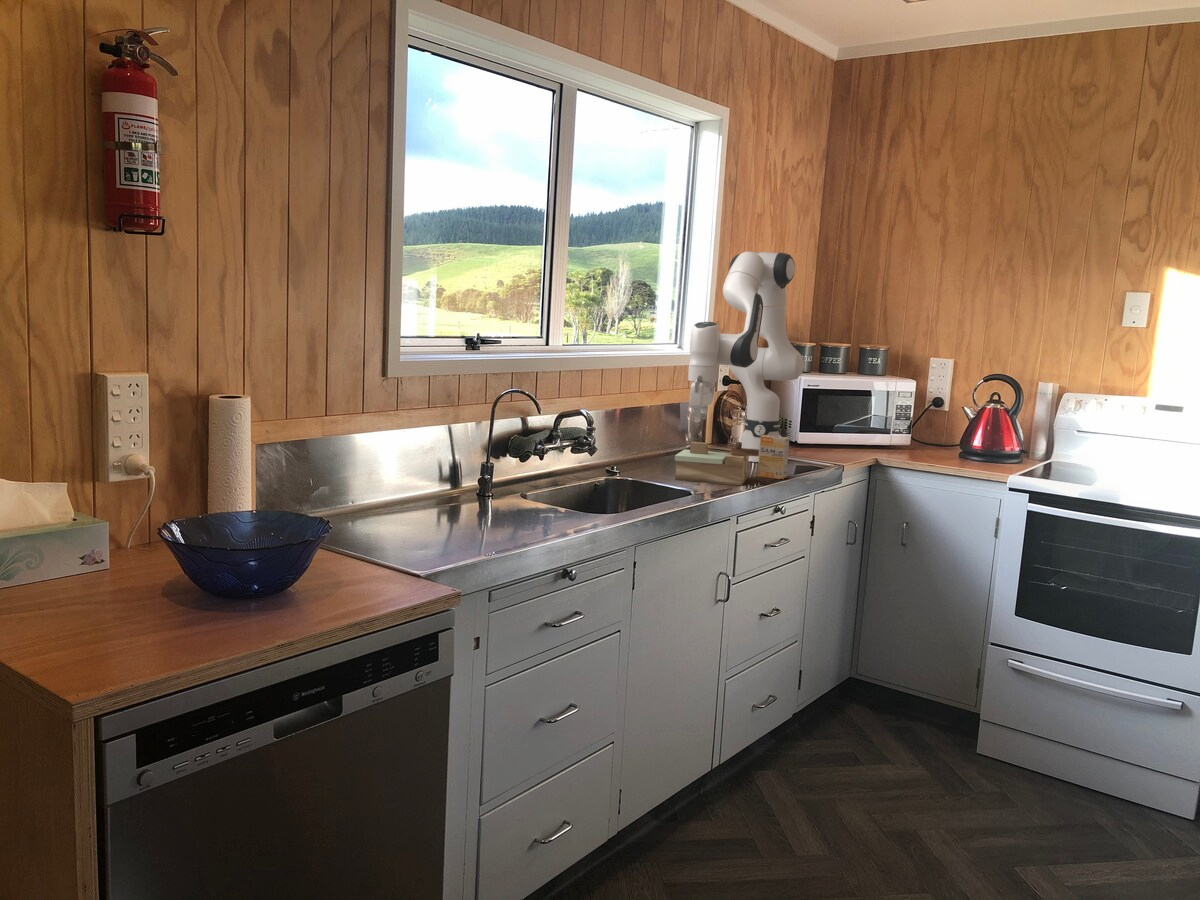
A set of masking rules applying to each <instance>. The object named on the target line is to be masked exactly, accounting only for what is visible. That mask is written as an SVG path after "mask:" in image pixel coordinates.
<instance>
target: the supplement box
mask: <svg viewBox="0 0 1200 900" xmlns="http://www.w3.org/2000/svg"><path fill="white" fill-rule="evenodd" d="M789 447H790V437H785V436H781V437H779V436H770V435H762V436H761V437H760V451H759V462H758V467H757V477H758V478H764V479H773V480H780V479H783V480H785V479H786V478H787V474H788V471H787V470H788V464H789V463H788V462H789V461H788V460H789V449H790V448H789ZM784 478H785V479H784Z"/></svg>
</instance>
